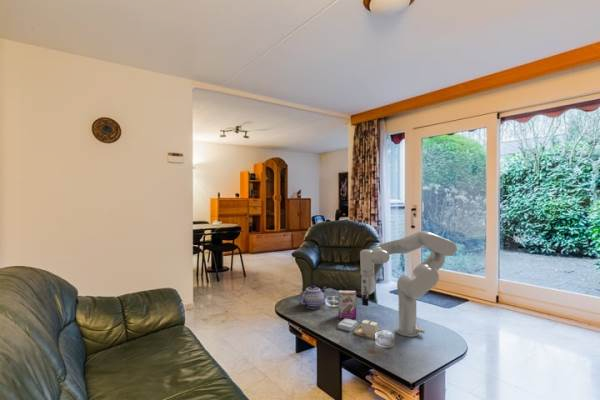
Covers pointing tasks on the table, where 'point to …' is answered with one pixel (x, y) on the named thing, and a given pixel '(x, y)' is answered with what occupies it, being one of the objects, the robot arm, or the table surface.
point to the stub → (369, 327)
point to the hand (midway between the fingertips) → (368, 302)
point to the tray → (359, 332)
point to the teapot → (312, 297)
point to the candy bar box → (347, 304)
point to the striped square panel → (347, 324)
